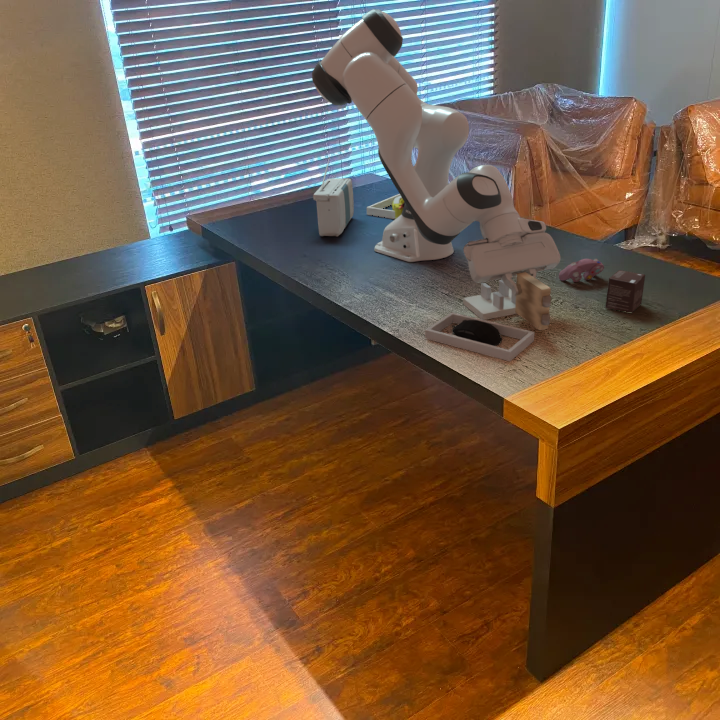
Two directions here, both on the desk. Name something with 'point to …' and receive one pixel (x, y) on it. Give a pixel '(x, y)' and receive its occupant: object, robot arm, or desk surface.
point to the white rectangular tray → (378, 208)
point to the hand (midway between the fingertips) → (525, 292)
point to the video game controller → (581, 270)
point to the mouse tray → (479, 347)
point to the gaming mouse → (478, 332)
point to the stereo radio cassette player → (334, 205)
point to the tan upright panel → (533, 301)
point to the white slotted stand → (492, 302)
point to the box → (625, 291)
